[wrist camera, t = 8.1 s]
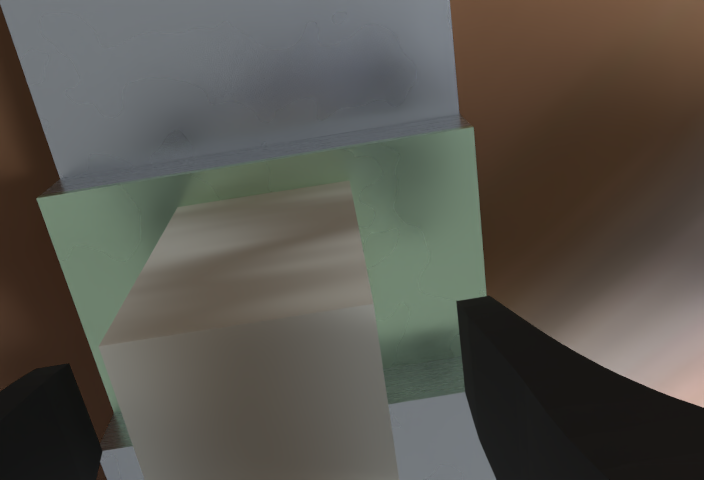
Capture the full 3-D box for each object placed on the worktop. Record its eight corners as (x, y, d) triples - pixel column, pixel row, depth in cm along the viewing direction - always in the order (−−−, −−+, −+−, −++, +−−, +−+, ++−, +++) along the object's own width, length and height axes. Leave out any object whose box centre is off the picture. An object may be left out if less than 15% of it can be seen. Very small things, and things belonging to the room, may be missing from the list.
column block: (349, 180, 15) (373, 304, 9) (372, 329, 16) (403, 511, 11) (177, 206, 15) (98, 346, 9) (216, 353, 16) (168, 548, 11)
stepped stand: (423, -154, 15) (467, -203, 11) (479, 452, 22) (519, 564, 18) (-14, -83, 15) (-138, -105, 11) (181, 500, 22) (151, 623, 18)
